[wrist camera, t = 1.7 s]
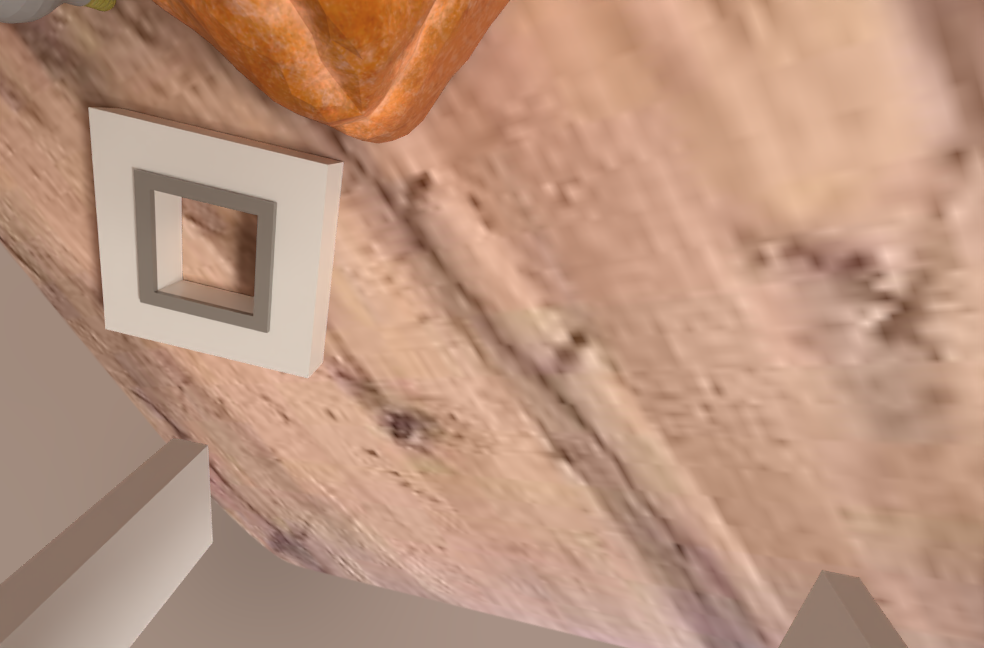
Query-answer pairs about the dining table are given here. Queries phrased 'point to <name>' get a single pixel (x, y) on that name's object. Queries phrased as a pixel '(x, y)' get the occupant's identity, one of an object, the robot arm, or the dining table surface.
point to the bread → (345, 54)
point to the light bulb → (43, 8)
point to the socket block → (158, 239)
